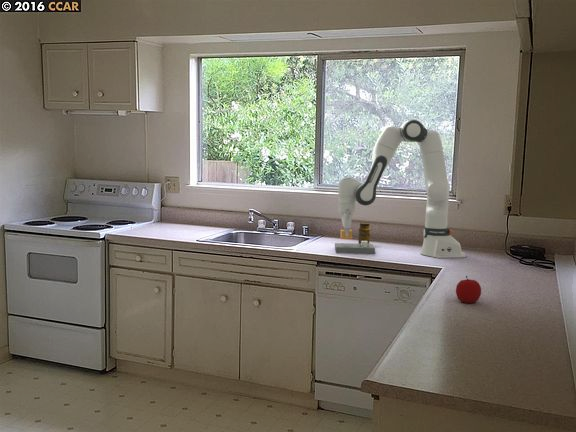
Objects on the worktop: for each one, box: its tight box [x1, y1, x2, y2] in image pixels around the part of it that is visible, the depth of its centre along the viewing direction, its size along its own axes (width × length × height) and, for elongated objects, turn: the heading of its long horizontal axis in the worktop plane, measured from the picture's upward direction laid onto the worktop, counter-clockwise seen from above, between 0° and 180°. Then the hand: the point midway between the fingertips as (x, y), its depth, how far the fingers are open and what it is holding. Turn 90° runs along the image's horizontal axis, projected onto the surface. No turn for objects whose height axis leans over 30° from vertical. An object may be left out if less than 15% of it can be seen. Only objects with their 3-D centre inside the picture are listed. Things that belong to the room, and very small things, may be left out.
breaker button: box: [361, 241, 368, 246], centre depth 323 cm, size 3×3×5 cm
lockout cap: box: [340, 229, 353, 240], centre depth 322 cm, size 6×6×4 cm
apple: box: [455, 275, 482, 304], centre depth 231 cm, size 9×9×10 cm
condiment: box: [357, 222, 371, 244], centre depth 341 cm, size 7×8×12 cm
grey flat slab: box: [334, 242, 376, 255], centre depth 323 cm, size 20×12×4 cm, turn 88°
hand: (346, 234), depth 322 cm, fingers closed on lockout cap, 6 cm apart
